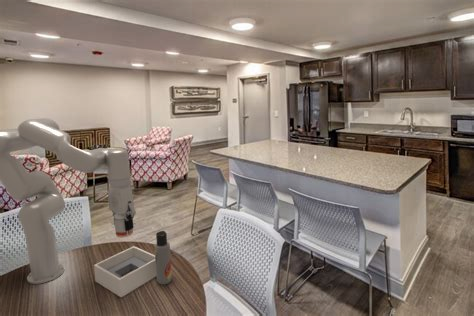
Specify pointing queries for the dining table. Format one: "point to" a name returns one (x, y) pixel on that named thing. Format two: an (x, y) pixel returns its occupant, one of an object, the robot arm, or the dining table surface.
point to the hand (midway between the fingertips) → (123, 227)
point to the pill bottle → (121, 226)
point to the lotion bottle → (163, 258)
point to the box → (126, 270)
